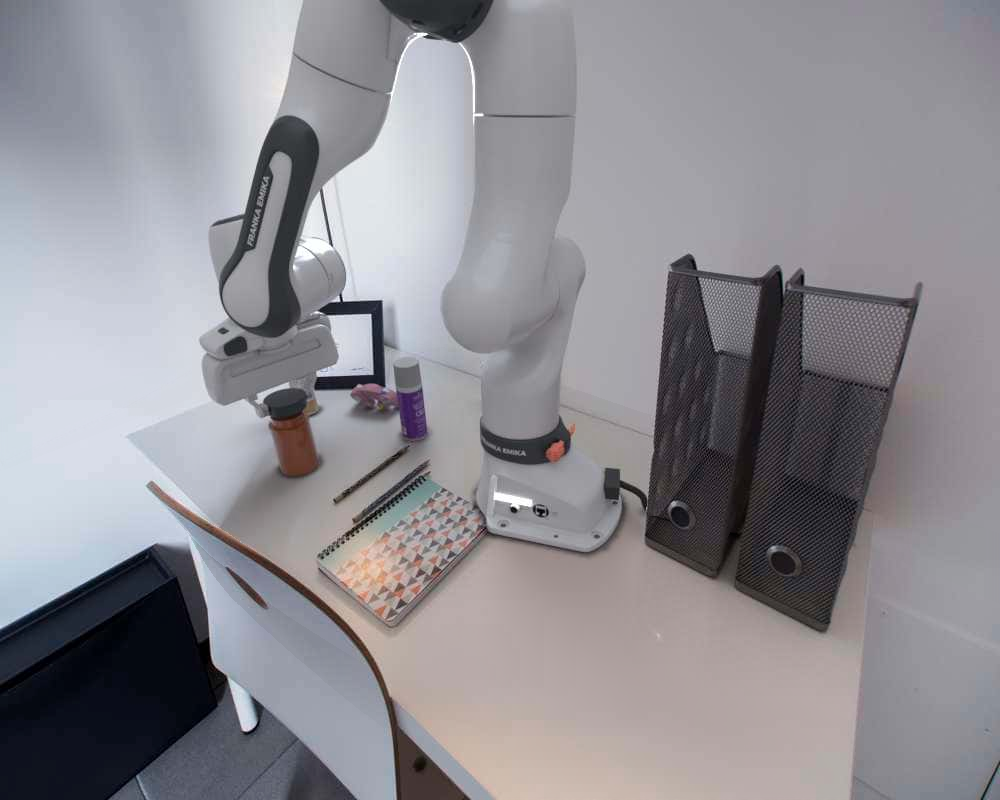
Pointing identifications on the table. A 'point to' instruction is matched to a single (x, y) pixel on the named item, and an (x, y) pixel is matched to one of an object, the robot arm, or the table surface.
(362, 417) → the table surface
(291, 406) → the lid
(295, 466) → the jar
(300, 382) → the sprinkles bottle
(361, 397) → the pink toy animal
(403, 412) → the container
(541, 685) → the table surface
